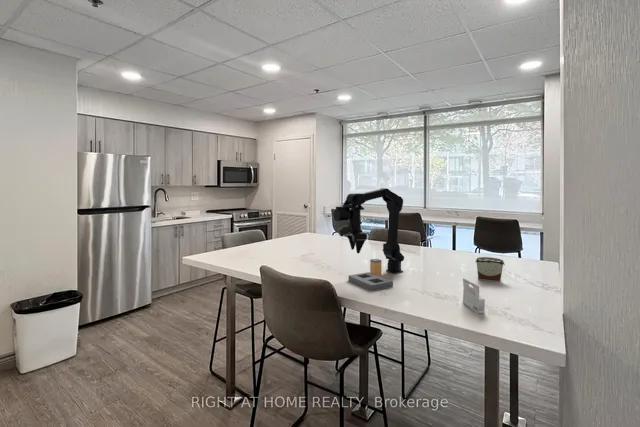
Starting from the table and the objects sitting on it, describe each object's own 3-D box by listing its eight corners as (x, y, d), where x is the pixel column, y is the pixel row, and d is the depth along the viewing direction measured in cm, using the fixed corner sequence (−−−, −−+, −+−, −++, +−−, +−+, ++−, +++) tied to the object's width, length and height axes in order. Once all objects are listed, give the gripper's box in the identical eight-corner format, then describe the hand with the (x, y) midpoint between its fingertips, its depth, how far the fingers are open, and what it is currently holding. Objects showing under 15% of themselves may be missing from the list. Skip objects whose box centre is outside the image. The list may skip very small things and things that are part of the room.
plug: (376, 273, 169) (376, 258, 169) (381, 275, 166) (381, 260, 165) (370, 274, 167) (370, 259, 167) (375, 276, 164) (375, 261, 163)
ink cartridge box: (468, 302, 127) (469, 277, 126) (484, 313, 116) (485, 286, 115) (462, 302, 127) (462, 277, 126) (478, 313, 116) (479, 286, 115)
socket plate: (368, 277, 163) (368, 272, 163) (392, 286, 147) (393, 281, 147) (348, 280, 158) (348, 275, 157) (371, 291, 142) (371, 285, 142)
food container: (502, 278, 158) (503, 258, 158) (504, 282, 153) (504, 260, 152) (474, 275, 164) (475, 256, 163) (474, 279, 158) (475, 258, 157)
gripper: (333, 218, 167) (334, 248, 168) (343, 222, 148) (344, 256, 150) (355, 217, 169) (355, 247, 170) (367, 221, 151) (367, 254, 152)
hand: (355, 251), depth 161 cm, fingers open, 9 cm apart
